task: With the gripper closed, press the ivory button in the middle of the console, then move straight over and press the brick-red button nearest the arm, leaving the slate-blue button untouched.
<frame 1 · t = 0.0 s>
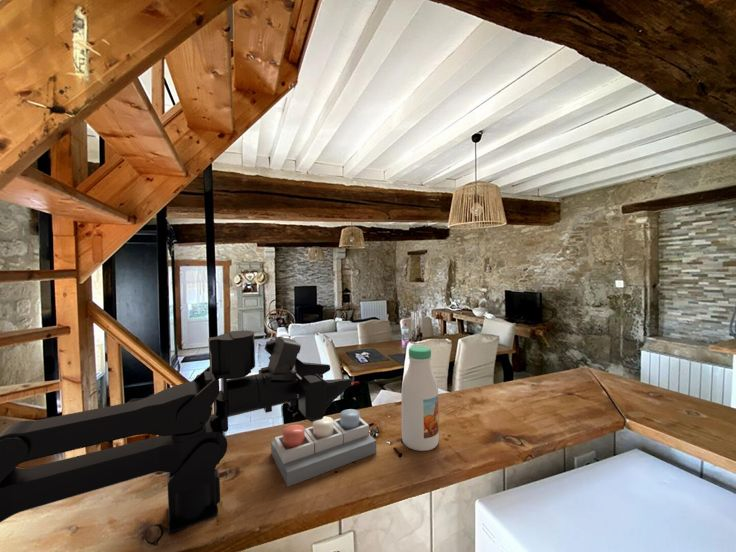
hand: (339, 374, 61), 17 cm above the counter, tool horizontal, fingers open, 9 cm apart
button blue: (349, 419, 66), point 5 cm above the counter, slide at 0.0 cm
milk bottle: (419, 442, 67), on the counter
button ivory: (323, 427, 63), point 5 cm above the counter, slide at 0.0 cm
button red: (293, 436, 60), point 5 cm above the counter, slide at 0.0 cm
console: (323, 453, 63), on the counter
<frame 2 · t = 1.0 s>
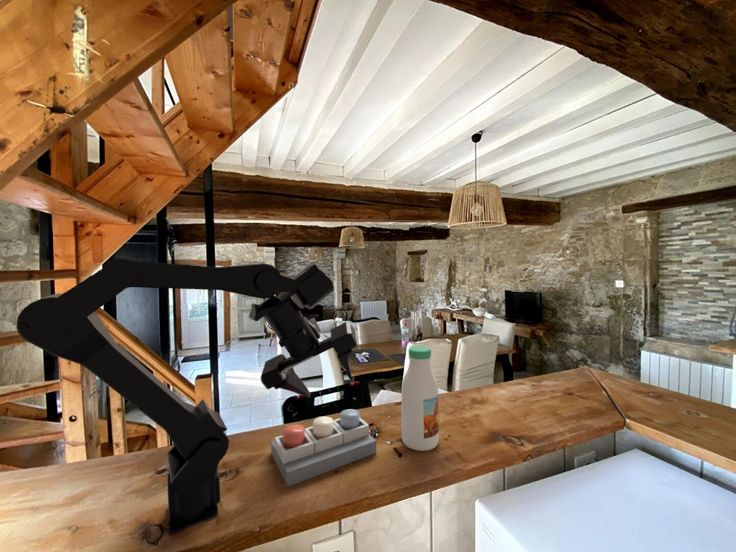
hand: (330, 386, 62), 14 cm above the counter, tool tilted 30°, fingers open, 9 cm apart
nothing on the counter moved.
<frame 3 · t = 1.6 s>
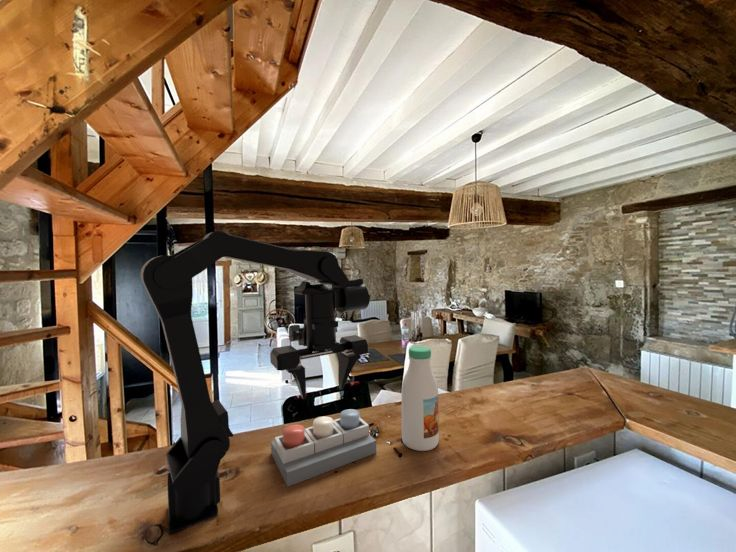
hand: (322, 393, 63), 12 cm above the counter, tool pointing down, fingers open, 8 cm apart
nothing on the counter moved.
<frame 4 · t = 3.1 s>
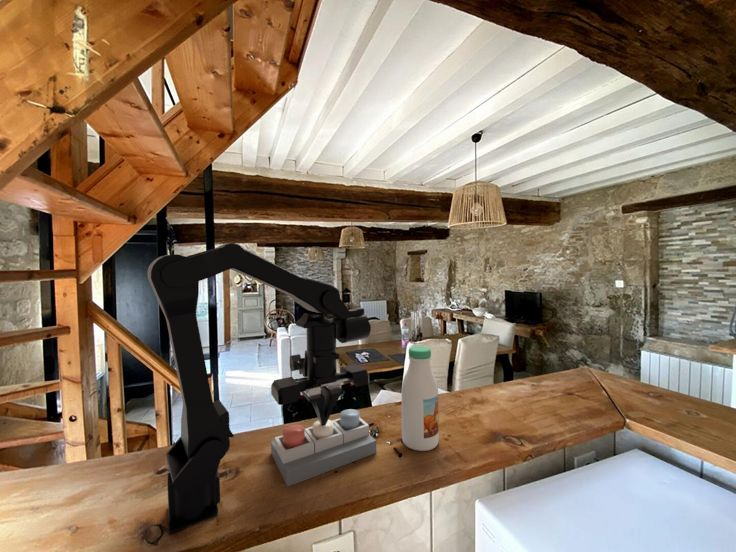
hand: (323, 424, 63), 6 cm above the counter, tool pointing down, fingers closed, pressing on button ivory
button ivory: (323, 430, 63), point 5 cm above the counter, slide at -0.6 cm, touching gripper
everything else where it was.
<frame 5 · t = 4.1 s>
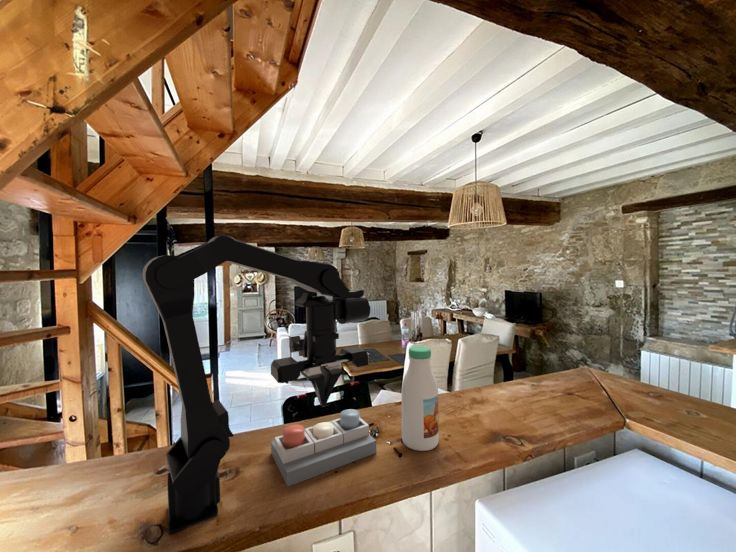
hand: (322, 405, 63), 10 cm above the counter, tool pointing down, fingers closed
button ivory: (323, 433, 63), point 4 cm above the counter, slide at -1.2 cm
everything else where it was.
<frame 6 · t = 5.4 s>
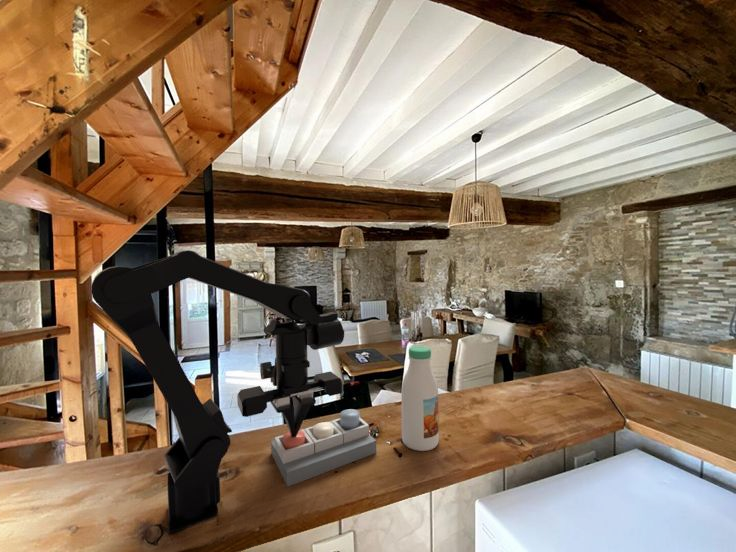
hand: (293, 435, 60), 5 cm above the counter, tool pointing down, fingers closed, pressing on button red
button red: (294, 441, 60), point 4 cm above the counter, slide at -1.1 cm, touching gripper
everything else where it was.
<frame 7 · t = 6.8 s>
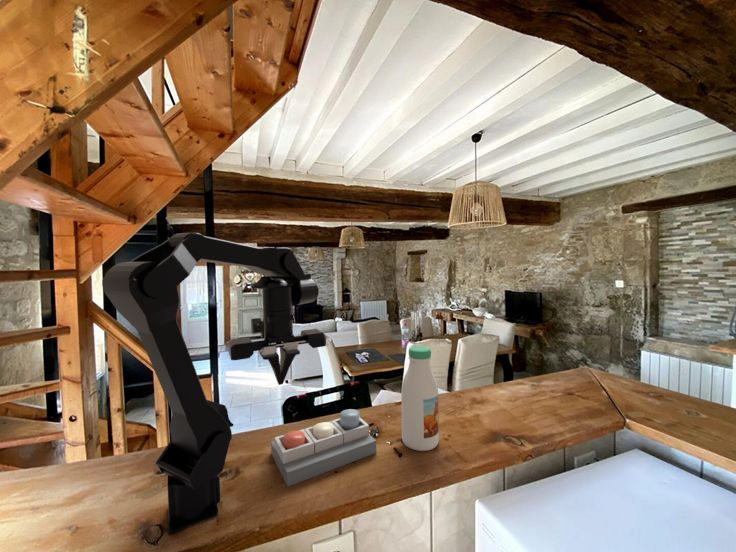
hand: (280, 383, 65), 13 cm above the counter, tool pointing down, fingers closed
button red: (294, 442, 60), point 4 cm above the counter, slide at -1.2 cm
everything else where it was.
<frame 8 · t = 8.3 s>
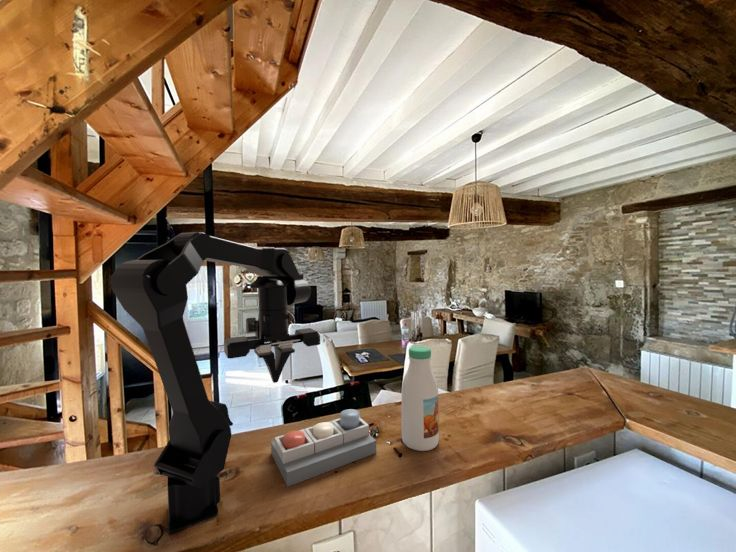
hand: (275, 382, 67), 13 cm above the counter, tool pointing down, fingers closed
nothing on the counter moved.
at the end: button ivory slide at -1.2 cm; button red slide at -1.2 cm; button blue slide at 0.0 cm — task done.
